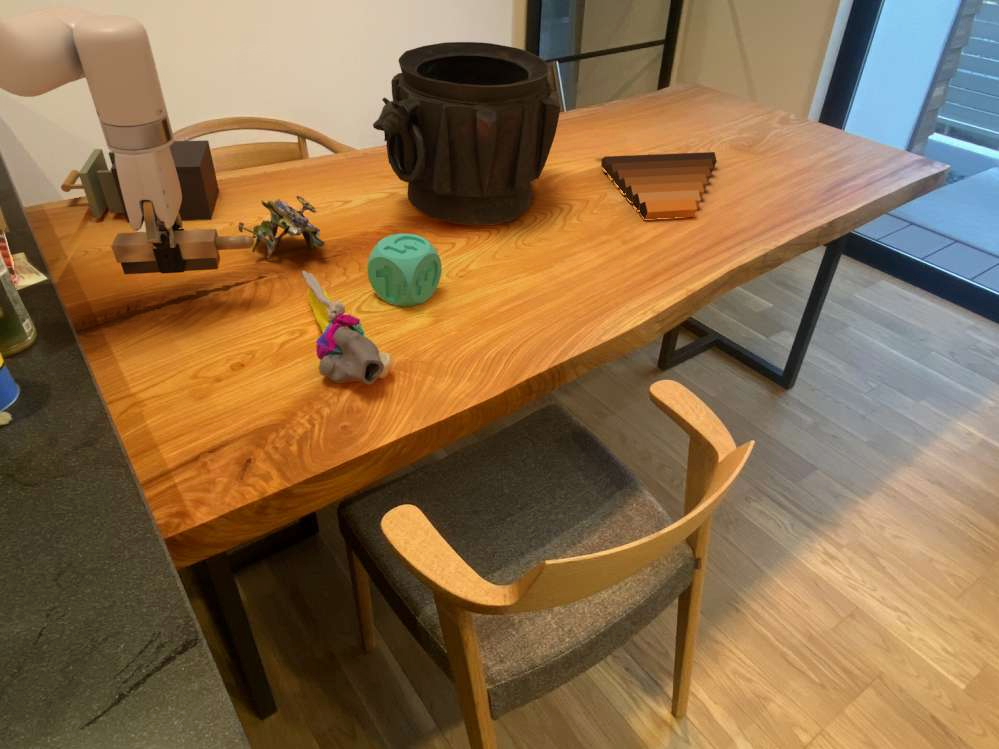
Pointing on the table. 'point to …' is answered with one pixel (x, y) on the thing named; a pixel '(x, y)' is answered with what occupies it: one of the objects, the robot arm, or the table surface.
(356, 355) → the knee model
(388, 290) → the decorative dice
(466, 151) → the vessel
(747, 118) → the table surface
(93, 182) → the drawer
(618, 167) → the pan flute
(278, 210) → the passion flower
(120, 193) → the dark wooden cuboid
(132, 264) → the brush
